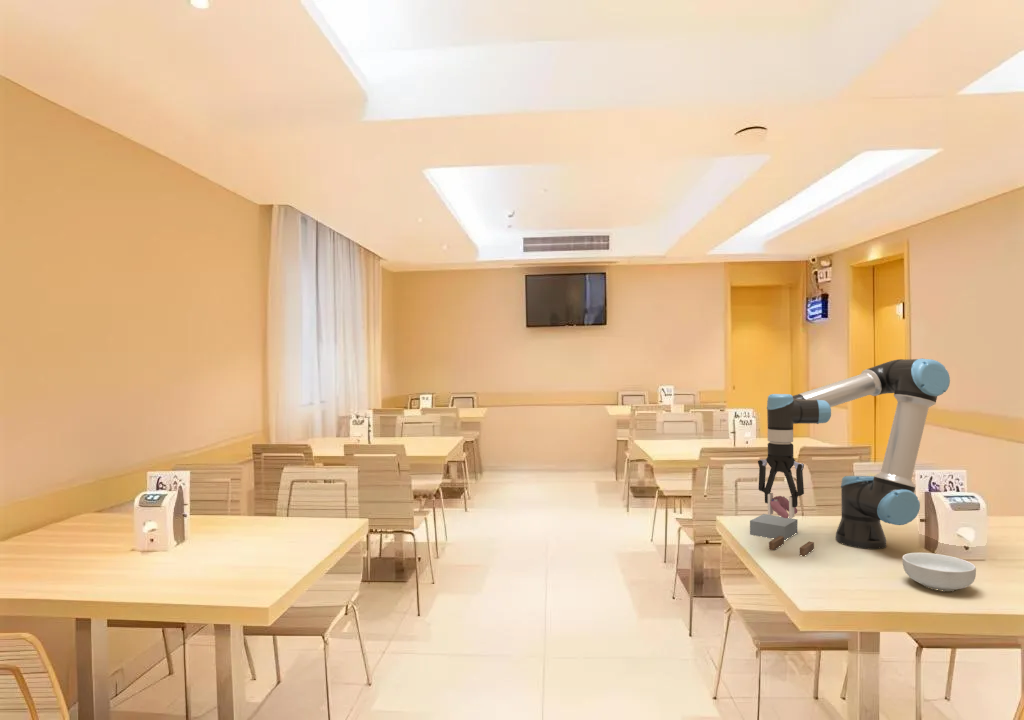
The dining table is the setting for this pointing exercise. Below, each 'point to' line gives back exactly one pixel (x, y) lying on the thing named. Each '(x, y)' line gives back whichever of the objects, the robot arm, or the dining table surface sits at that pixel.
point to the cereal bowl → (939, 571)
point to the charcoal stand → (773, 526)
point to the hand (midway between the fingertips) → (781, 515)
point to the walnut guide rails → (780, 540)
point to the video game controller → (781, 506)
